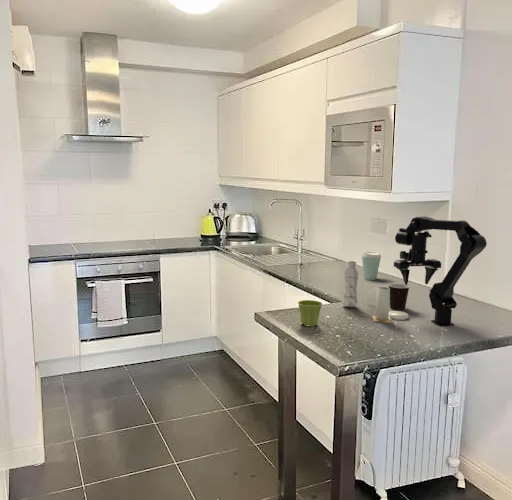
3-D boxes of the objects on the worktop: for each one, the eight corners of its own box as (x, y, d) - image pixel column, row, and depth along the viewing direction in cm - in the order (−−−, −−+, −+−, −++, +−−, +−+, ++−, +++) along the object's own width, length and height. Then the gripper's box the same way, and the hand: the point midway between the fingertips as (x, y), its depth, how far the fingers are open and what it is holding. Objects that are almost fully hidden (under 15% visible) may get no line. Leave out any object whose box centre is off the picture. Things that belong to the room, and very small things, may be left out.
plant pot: (296, 320, 204) (297, 299, 203) (320, 321, 204) (321, 300, 203) (297, 328, 195) (298, 305, 194) (322, 328, 195) (323, 306, 194)
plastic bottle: (340, 308, 225) (343, 262, 221) (343, 304, 231) (345, 260, 228) (355, 309, 222) (358, 264, 219) (358, 305, 229) (360, 261, 226)
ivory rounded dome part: (411, 319, 209) (411, 315, 209) (393, 320, 208) (393, 316, 207) (401, 314, 217) (402, 310, 217) (384, 314, 215) (384, 311, 215)
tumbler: (390, 319, 206) (392, 289, 204) (379, 320, 205) (380, 289, 203) (384, 316, 211) (386, 286, 209) (373, 317, 209) (374, 286, 208)
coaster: (389, 318, 211) (389, 316, 211) (391, 323, 204) (391, 321, 204) (372, 317, 212) (372, 315, 212) (373, 322, 205) (373, 320, 205)
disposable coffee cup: (379, 277, 291) (380, 251, 288) (380, 281, 280) (382, 254, 278) (360, 276, 292) (361, 250, 290) (360, 280, 282) (362, 253, 280)
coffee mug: (392, 304, 232) (393, 282, 231) (410, 308, 227) (412, 285, 225) (380, 309, 223) (382, 287, 222) (399, 313, 218) (401, 290, 216)
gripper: (428, 244, 221) (425, 279, 224) (388, 244, 217) (386, 281, 220) (443, 248, 211) (440, 285, 213) (401, 248, 207) (399, 286, 209)
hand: (416, 284), depth 214 cm, fingers open, 9 cm apart
